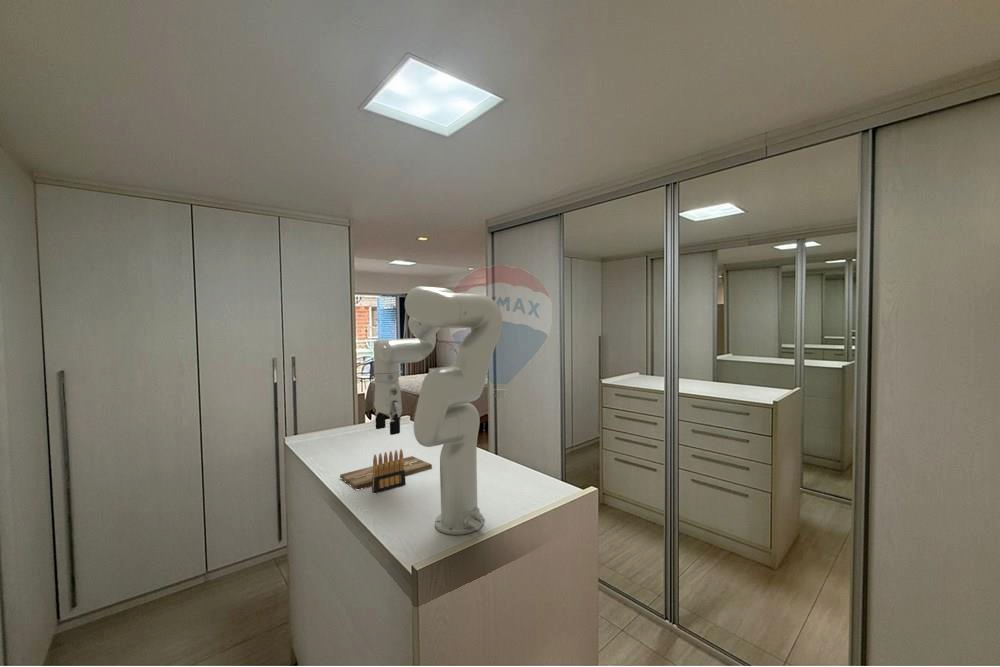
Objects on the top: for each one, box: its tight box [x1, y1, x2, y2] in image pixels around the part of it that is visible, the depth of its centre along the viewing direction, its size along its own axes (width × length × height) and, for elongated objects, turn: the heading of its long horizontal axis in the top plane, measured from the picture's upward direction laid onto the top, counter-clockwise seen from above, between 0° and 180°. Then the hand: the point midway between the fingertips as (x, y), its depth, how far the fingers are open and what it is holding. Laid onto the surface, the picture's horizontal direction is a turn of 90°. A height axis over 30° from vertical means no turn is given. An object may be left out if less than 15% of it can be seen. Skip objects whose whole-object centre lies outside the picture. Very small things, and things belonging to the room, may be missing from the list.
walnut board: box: [339, 455, 433, 490], centre depth 145 cm, size 14×28×2 cm, turn 132°
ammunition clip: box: [371, 448, 407, 494], centre depth 131 cm, size 11×2×12 cm, turn 129°
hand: (387, 431), depth 131 cm, fingers open, 9 cm apart
